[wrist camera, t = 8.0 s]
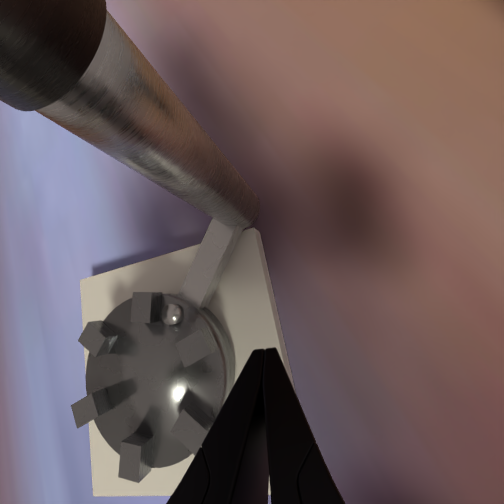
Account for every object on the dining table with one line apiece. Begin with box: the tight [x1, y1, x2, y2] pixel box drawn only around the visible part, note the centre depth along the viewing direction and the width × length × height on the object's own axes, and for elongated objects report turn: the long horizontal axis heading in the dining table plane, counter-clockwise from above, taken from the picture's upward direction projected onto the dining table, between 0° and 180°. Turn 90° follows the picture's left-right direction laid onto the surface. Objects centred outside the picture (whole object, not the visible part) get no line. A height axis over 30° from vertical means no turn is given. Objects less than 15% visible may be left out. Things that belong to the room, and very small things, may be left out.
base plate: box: [80, 228, 296, 496], centre depth 19 cm, size 16×16×2 cm
